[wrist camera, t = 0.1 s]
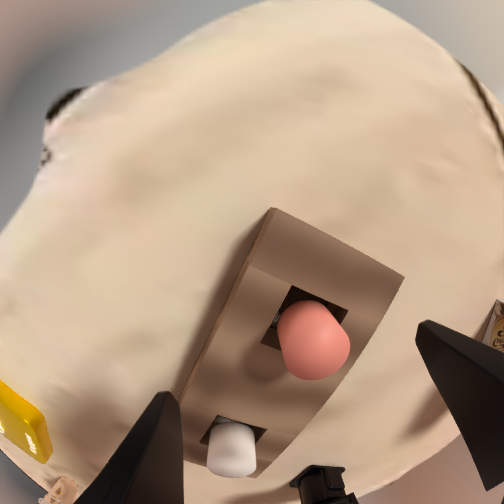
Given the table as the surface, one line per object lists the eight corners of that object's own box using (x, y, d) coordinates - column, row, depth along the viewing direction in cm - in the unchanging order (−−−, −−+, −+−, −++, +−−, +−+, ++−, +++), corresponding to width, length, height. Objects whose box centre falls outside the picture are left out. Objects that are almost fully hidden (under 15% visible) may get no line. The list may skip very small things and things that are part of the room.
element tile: (55, 454, 29) (46, 469, 24) (1, 415, 28) (-9, 427, 23) (44, 411, 27) (30, 428, 22) (-14, 365, 26) (-29, 377, 21)
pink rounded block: (314, 356, 21) (327, 386, 17) (266, 339, 20) (272, 369, 16) (341, 312, 20) (362, 335, 16) (293, 290, 20) (305, 312, 16)
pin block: (254, 455, 28) (255, 478, 24) (164, 427, 27) (158, 450, 23) (382, 266, 24) (404, 277, 20) (270, 207, 22) (276, 208, 19)
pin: (243, 451, 23) (243, 481, 19) (204, 440, 22) (200, 470, 18) (262, 429, 22) (265, 460, 18) (219, 416, 22) (217, 449, 18)
